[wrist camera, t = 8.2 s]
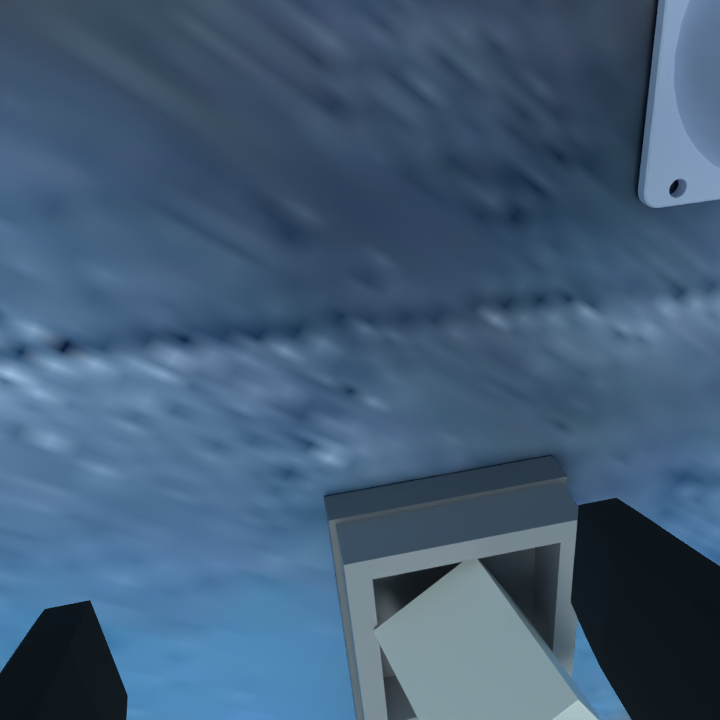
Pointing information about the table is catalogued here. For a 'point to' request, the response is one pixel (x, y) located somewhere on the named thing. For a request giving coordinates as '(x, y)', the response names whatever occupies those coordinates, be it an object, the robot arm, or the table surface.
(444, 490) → the socket strip
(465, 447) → the table surface
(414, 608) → the grey plug
